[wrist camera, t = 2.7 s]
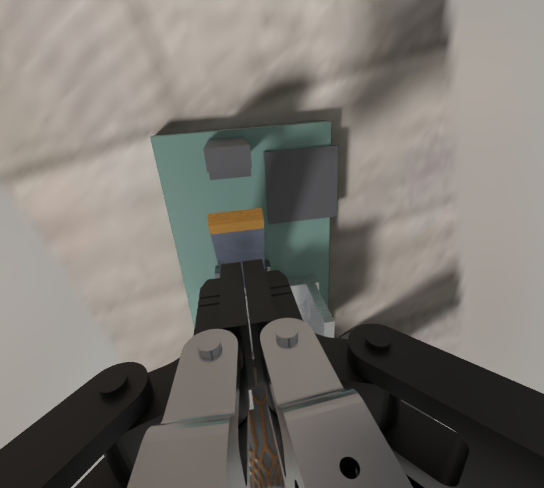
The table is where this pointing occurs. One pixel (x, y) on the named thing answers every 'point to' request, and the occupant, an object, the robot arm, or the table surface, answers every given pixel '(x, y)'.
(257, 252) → the blue-grey flat piece
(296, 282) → the heatsink
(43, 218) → the table surface
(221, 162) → the block
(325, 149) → the board
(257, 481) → the vase
